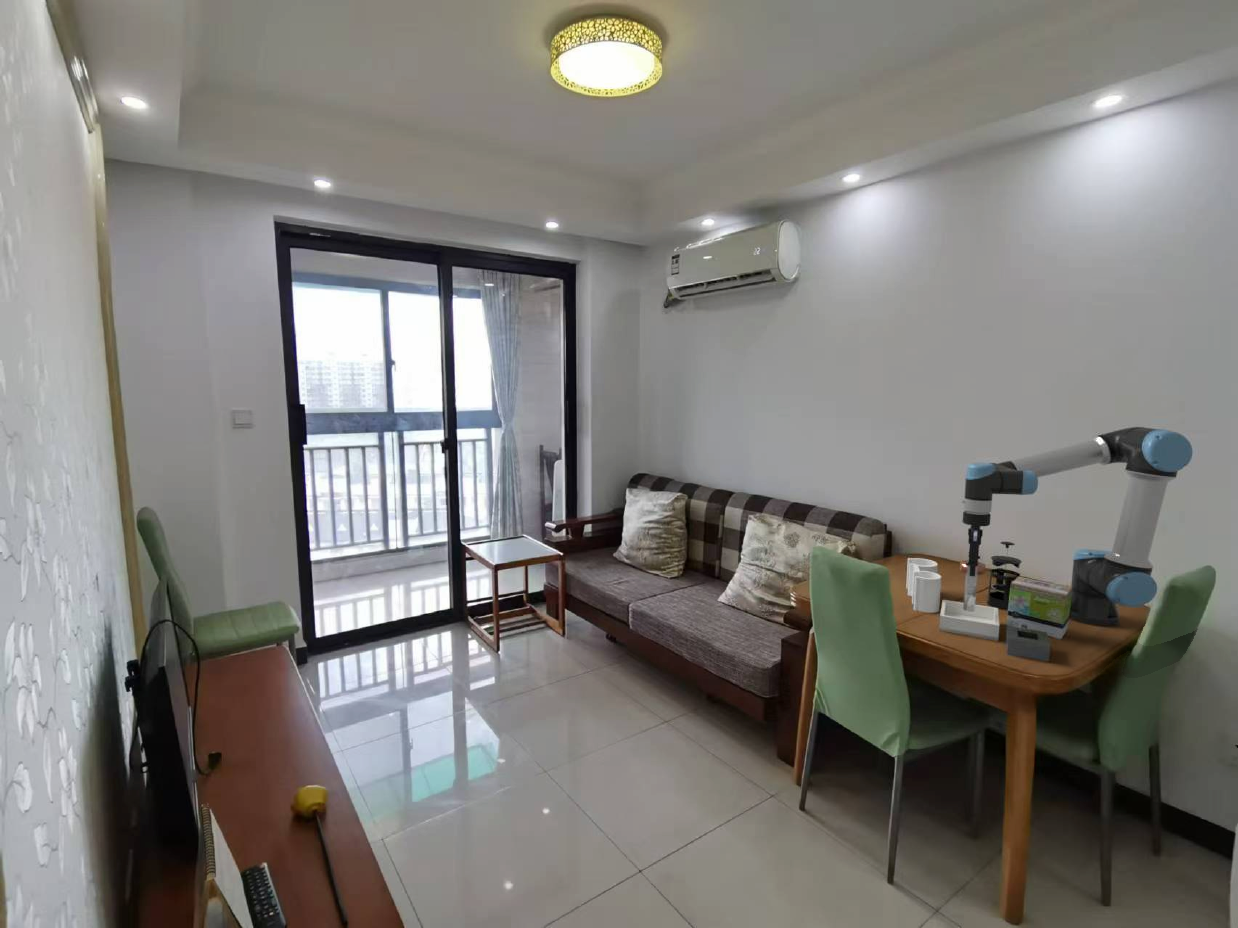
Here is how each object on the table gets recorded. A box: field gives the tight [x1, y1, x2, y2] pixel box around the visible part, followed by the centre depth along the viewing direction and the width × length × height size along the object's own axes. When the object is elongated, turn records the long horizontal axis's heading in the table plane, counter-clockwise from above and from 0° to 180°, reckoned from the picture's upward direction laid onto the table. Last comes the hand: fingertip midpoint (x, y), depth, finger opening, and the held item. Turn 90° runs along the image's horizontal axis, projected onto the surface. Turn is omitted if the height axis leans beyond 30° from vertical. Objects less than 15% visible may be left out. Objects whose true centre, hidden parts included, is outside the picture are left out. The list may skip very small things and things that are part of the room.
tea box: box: [1006, 576, 1072, 640], centre depth 191 cm, size 15×10×15 cm, turn 44°
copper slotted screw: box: [959, 559, 986, 612], centre depth 193 cm, size 7×7×16 cm
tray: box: [938, 599, 1000, 642], centre depth 194 cm, size 16×16×5 cm
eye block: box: [1005, 625, 1051, 663], centre depth 176 cm, size 10×10×5 cm
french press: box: [986, 541, 1022, 611], centre depth 211 cm, size 12×9×23 cm
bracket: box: [905, 557, 942, 614], centre depth 217 cm, size 25×10×12 cm, turn 159°
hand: (971, 581), depth 192 cm, fingers closed on copper slotted screw, 7 cm apart
